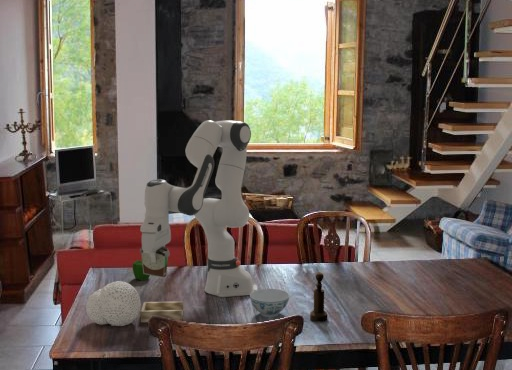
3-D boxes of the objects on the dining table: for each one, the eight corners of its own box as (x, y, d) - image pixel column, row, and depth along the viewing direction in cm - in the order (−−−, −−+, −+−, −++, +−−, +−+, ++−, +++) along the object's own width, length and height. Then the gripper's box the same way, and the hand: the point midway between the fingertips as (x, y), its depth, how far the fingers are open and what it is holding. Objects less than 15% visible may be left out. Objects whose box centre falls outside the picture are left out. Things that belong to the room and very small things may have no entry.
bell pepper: (133, 282, 302) (132, 260, 301) (132, 276, 310) (131, 255, 309) (152, 281, 304) (152, 259, 303) (151, 275, 312) (150, 254, 311)
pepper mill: (308, 316, 261) (309, 270, 258) (325, 315, 262) (326, 269, 259) (311, 322, 255) (312, 275, 252) (328, 321, 255) (329, 275, 252)
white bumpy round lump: (151, 293, 260) (126, 266, 251) (146, 329, 246) (119, 301, 237) (107, 312, 266) (81, 285, 257) (101, 348, 252) (73, 321, 243)
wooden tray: (183, 311, 265) (183, 301, 265) (181, 321, 255) (181, 310, 254) (143, 312, 264) (143, 302, 264) (141, 322, 254) (140, 311, 253)
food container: (176, 273, 261) (176, 248, 259) (167, 278, 256) (166, 252, 254) (149, 269, 267) (149, 244, 265) (140, 273, 261) (139, 247, 260)
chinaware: (252, 307, 271) (252, 288, 270) (290, 308, 270) (290, 289, 269) (247, 320, 257) (247, 300, 255) (288, 322, 255) (288, 302, 254)
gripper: (159, 217, 268) (159, 252, 270) (138, 228, 249) (139, 265, 251) (174, 218, 267) (175, 253, 269) (154, 229, 247) (155, 266, 249)
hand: (157, 259), depth 260 cm, fingers closed on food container, 6 cm apart
